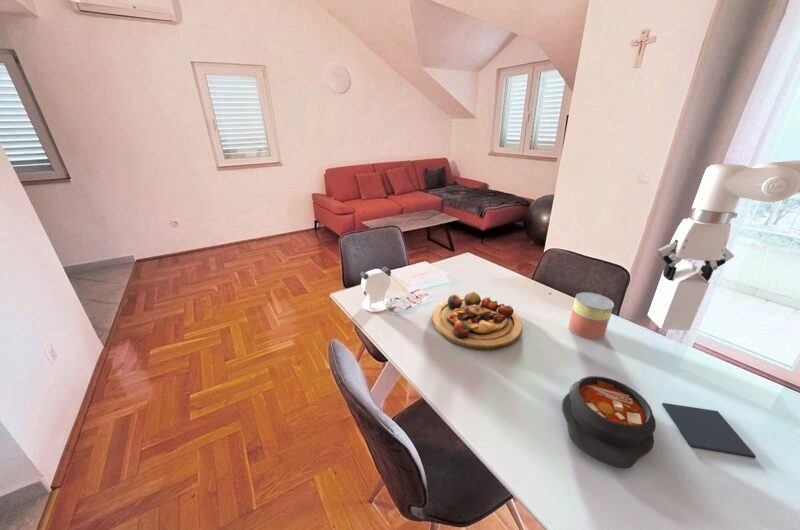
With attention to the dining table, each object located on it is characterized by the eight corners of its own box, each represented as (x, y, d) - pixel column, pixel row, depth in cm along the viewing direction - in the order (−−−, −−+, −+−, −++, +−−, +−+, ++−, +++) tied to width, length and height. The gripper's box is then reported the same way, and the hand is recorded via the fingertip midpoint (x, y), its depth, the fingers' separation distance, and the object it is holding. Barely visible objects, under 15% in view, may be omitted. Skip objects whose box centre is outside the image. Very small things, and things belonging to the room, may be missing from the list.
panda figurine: (383, 294, 133) (382, 262, 127) (396, 306, 124) (396, 272, 118) (357, 301, 128) (355, 268, 122) (369, 315, 119) (367, 279, 113)
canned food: (607, 343, 103) (617, 312, 98) (569, 335, 107) (577, 305, 102) (601, 324, 113) (610, 295, 108) (566, 318, 117) (574, 289, 112)
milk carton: (660, 329, 88) (684, 267, 80) (646, 315, 94) (667, 257, 87) (689, 331, 87) (716, 269, 79) (673, 317, 93) (696, 259, 86)
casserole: (571, 377, 89) (578, 353, 86) (652, 410, 79) (664, 385, 75) (548, 441, 71) (555, 414, 68) (649, 495, 61) (663, 466, 57)
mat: (716, 412, 78) (717, 410, 78) (755, 458, 67) (756, 456, 67) (661, 404, 80) (662, 402, 80) (690, 446, 70) (691, 445, 69)
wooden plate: (483, 366, 93) (486, 343, 90) (413, 319, 116) (413, 300, 113) (539, 326, 112) (543, 306, 108) (469, 292, 134) (471, 275, 131)
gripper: (740, 214, 79) (713, 276, 86) (661, 211, 83) (641, 271, 90) (764, 222, 73) (732, 289, 80) (677, 218, 76) (654, 282, 84)
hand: (684, 279), depth 85 cm, fingers closed on milk carton, 7 cm apart
